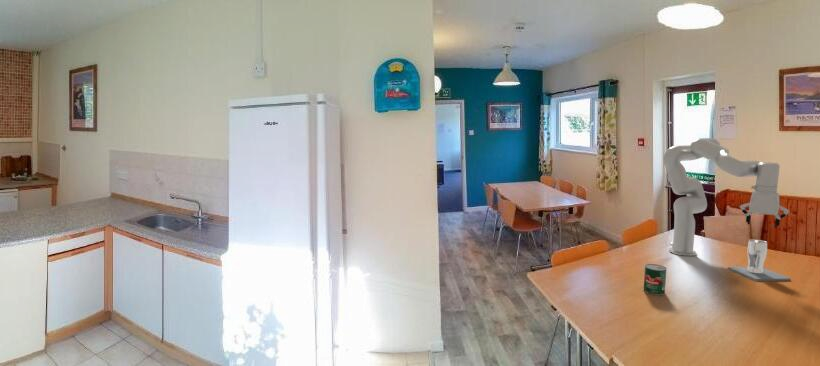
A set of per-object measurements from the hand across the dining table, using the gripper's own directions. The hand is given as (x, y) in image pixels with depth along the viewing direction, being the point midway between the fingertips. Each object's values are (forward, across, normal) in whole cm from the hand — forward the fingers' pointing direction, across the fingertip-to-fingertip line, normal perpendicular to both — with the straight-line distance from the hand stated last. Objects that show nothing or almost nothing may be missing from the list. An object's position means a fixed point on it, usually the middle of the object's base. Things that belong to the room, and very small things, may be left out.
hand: (762, 225), depth 188 cm
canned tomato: (+24, -29, -55) cm, 67 cm away
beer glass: (+23, -1, 0) cm, 23 cm away
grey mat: (+24, 0, 0) cm, 24 cm away
